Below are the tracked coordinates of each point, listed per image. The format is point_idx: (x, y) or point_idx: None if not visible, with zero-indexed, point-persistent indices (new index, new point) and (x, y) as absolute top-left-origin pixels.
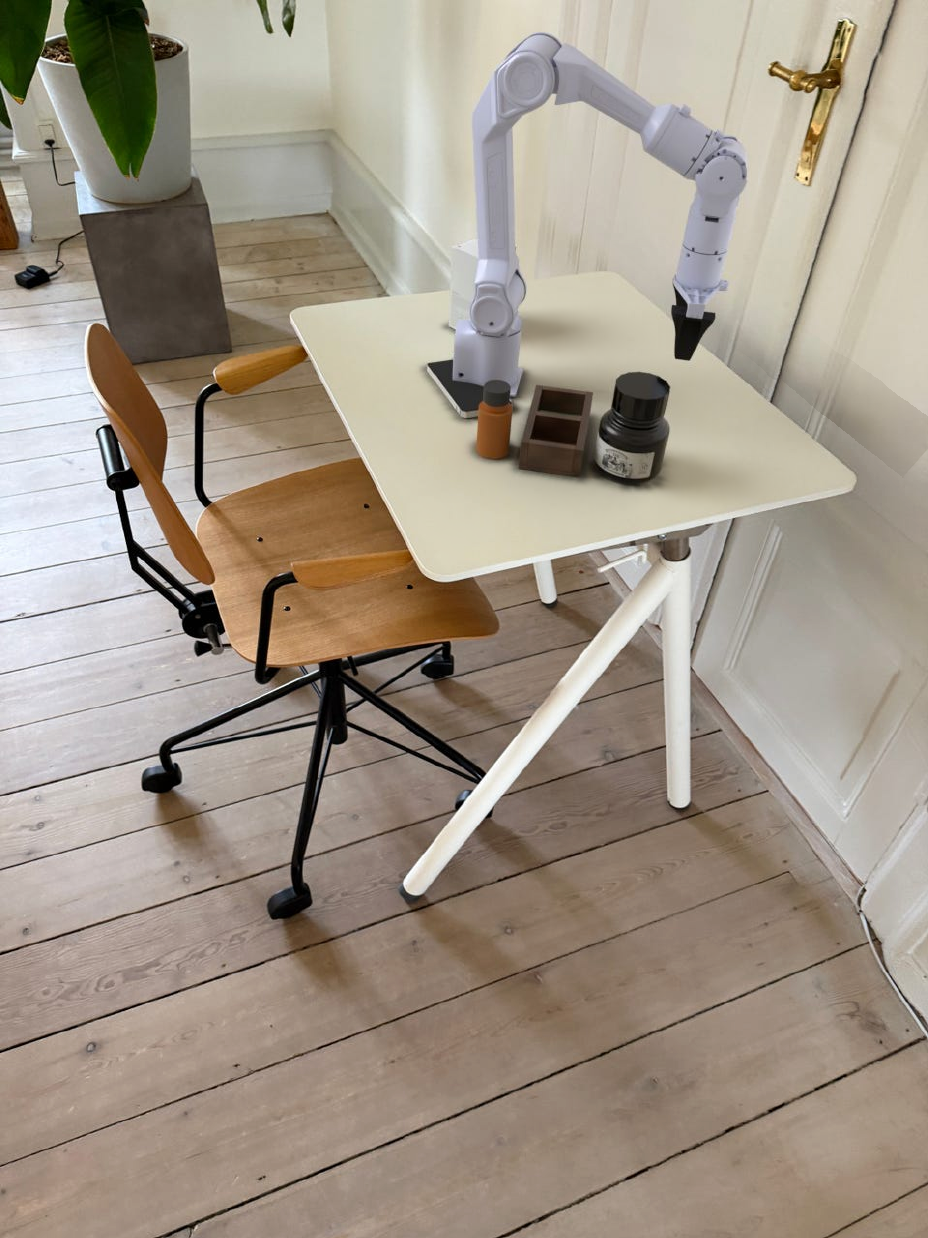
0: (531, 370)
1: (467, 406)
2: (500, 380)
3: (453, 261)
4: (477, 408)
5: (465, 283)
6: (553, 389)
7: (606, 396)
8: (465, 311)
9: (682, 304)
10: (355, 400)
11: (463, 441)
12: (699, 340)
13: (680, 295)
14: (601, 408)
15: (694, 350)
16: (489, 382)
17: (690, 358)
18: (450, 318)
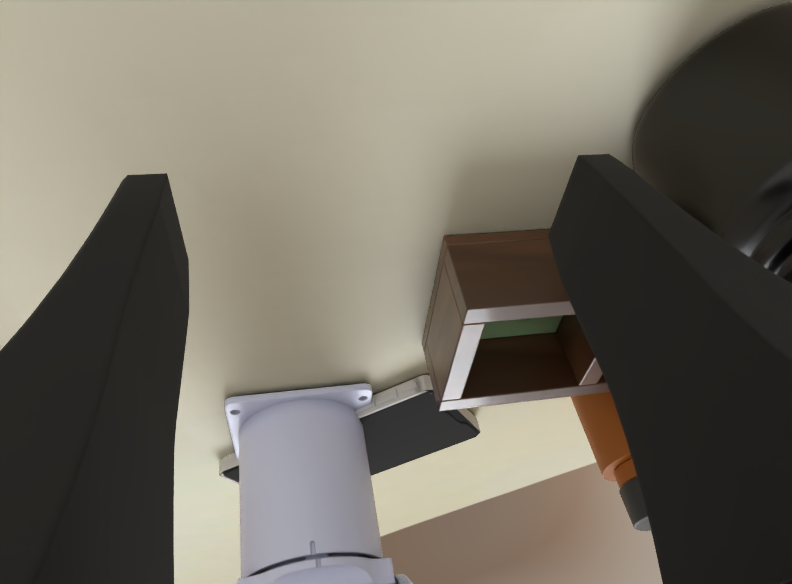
0: (202, 383)
1: (458, 435)
2: (641, 521)
3: None
4: (465, 424)
5: None
6: (461, 382)
7: (284, 209)
8: None
9: (163, 466)
10: (430, 511)
11: (560, 401)
12: (751, 260)
13: (167, 568)
14: (375, 212)
15: (669, 201)
16: (646, 528)
17: (623, 164)
18: None
